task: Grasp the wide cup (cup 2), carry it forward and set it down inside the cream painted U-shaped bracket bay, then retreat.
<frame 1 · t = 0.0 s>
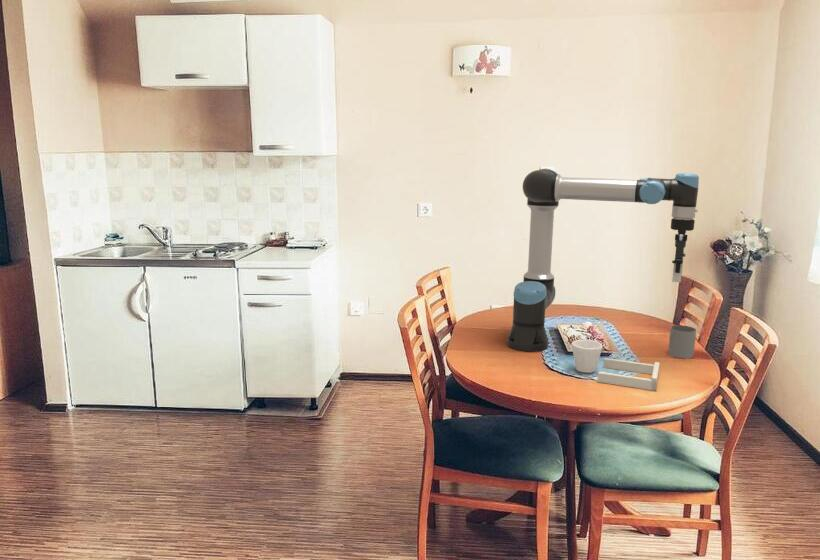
hand: (677, 278, 228), 28 cm above the table, fingers open, 13 cm apart
bracket: (628, 377, 209), on the table
cup: (680, 355, 232), on the table
cup 2: (585, 371, 215), on the table
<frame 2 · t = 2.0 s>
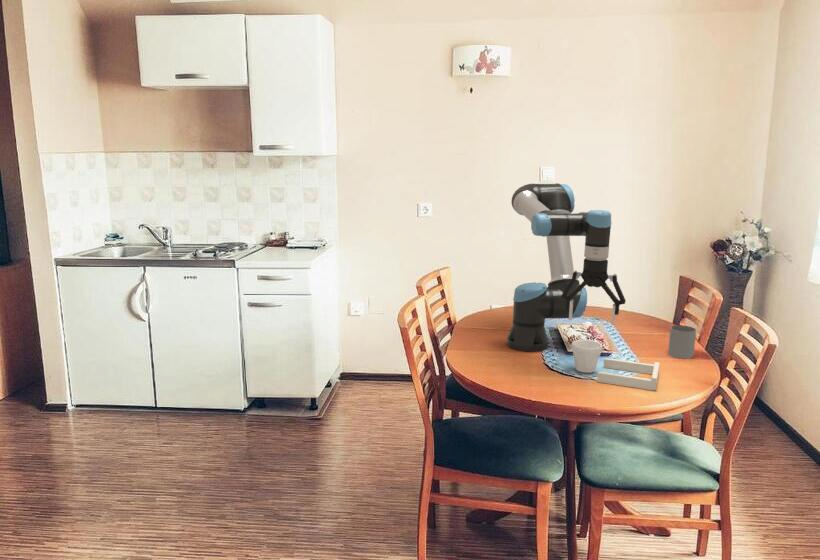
hand: (591, 321, 212), 17 cm above the table, fingers open, 13 cm apart
nothing on the table moved.
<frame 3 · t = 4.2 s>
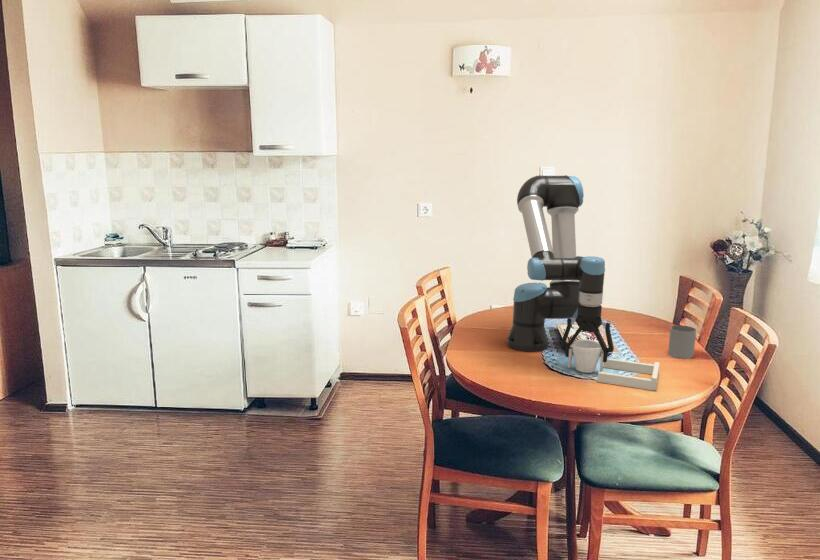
hand: (585, 368, 215), 1 cm above the table, fingers closed on cup 2, 10 cm apart
cup 2: (585, 371, 215), on the table, touching gripper
everything else where it was.
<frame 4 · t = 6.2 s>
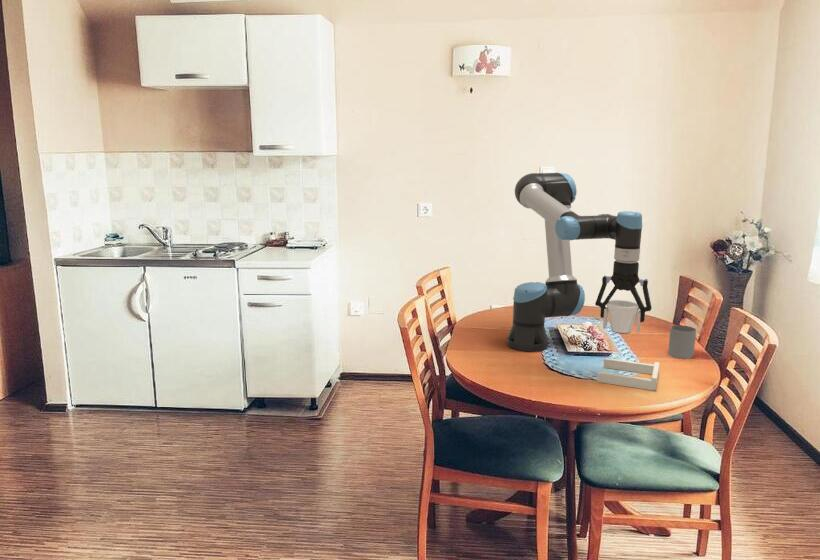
hand: (621, 329, 207), 16 cm above the table, fingers closed on cup 2, 10 cm apart
cup 2: (621, 332, 207), point 15 cm above the table, touching gripper
everything else where it was.
when the fingers open (3 cm above the table, at t = 8.3 s): cup 2 drops 2 cm, on the table.
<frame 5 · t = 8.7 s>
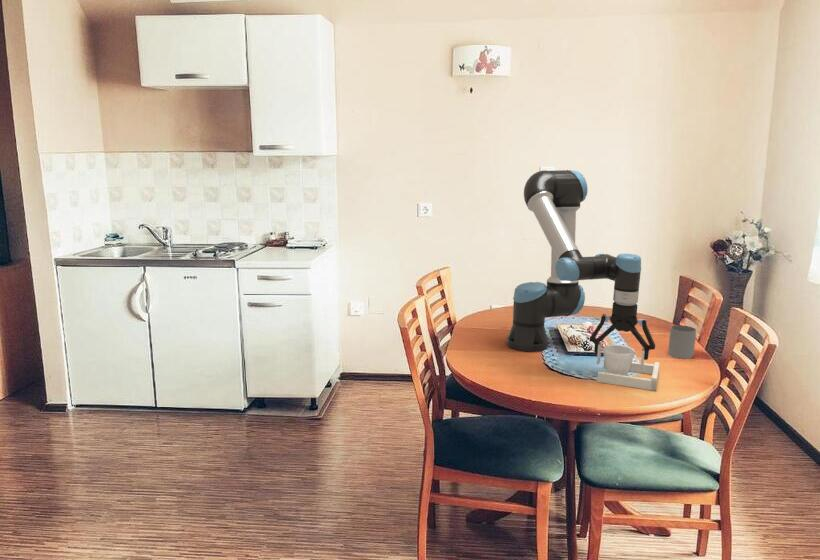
hand: (619, 365, 209), 4 cm above the table, fingers open, 13 cm apart
cup 2: (616, 376, 210), on the table
everything else where it was.
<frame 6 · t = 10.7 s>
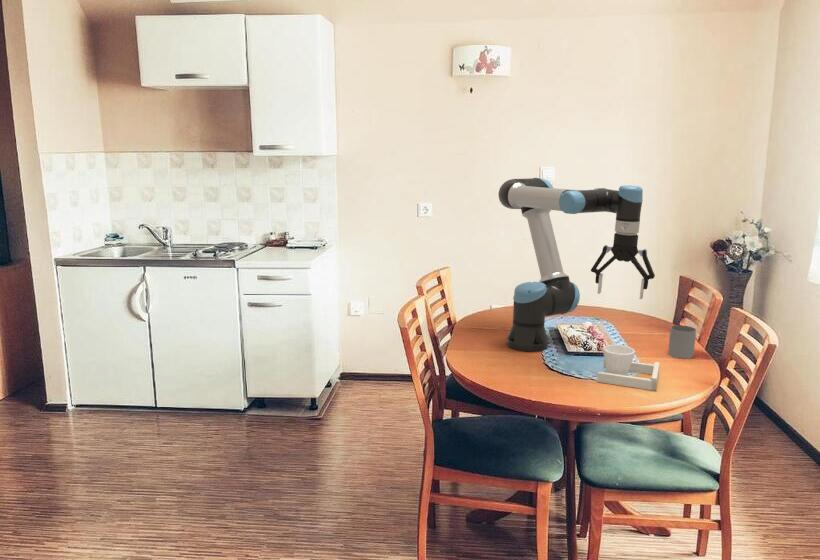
hand: (619, 295, 216), 24 cm above the table, fingers open, 13 cm apart
nothing on the table moved.
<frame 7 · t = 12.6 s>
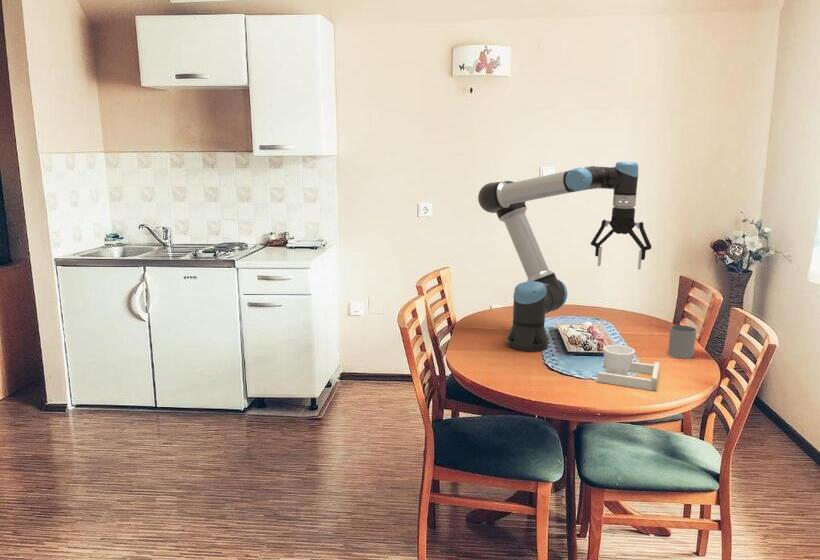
hand: (618, 267, 227), 32 cm above the table, fingers open, 13 cm apart
nothing on the table moved.
at the end: cup 2 inside the target area on the bracket (2.2 cm from its centre), point 0.0 cm above the bracket's base; cup 2 tilted 0°; the gripper is holding nothing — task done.
